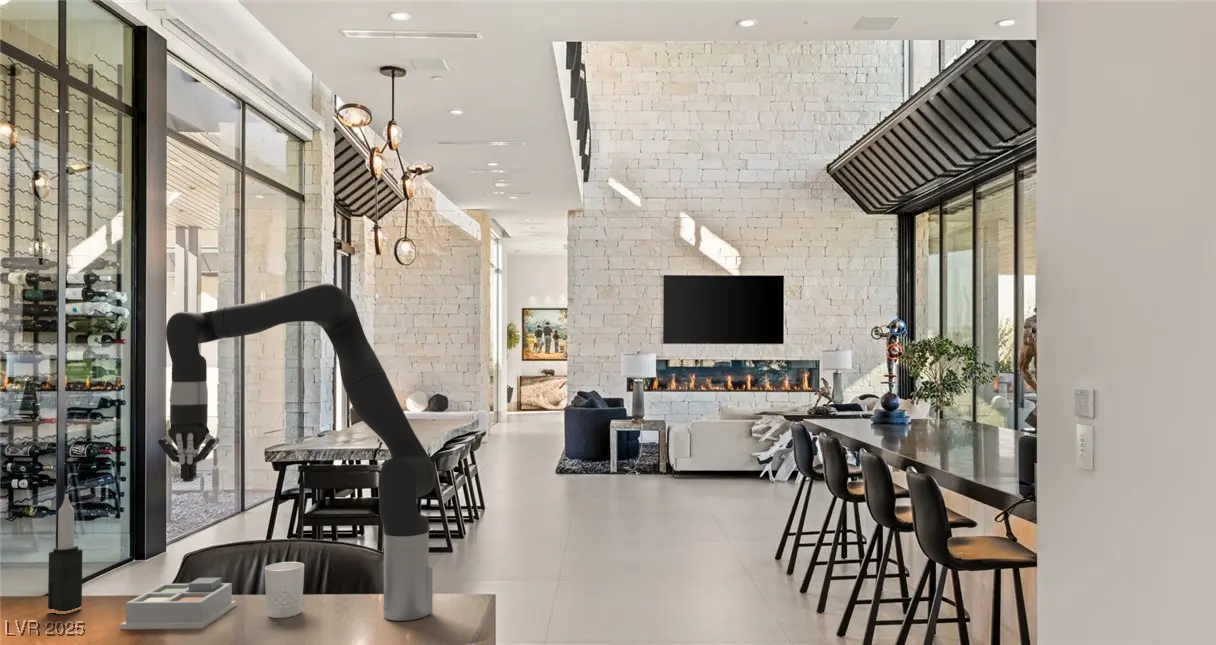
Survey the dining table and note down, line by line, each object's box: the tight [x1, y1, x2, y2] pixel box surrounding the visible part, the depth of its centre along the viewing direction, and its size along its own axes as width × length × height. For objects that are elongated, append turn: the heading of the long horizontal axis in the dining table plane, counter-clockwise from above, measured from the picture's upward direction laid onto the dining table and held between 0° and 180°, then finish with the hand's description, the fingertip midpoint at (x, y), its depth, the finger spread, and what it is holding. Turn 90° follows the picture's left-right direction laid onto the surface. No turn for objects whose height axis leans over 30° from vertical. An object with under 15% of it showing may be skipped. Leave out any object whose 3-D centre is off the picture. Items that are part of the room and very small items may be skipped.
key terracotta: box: [178, 597, 204, 601], centre depth 183 cm, size 5×5×3 cm
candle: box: [47, 493, 84, 611], centre depth 192 cm, size 5×5×25 cm
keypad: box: [119, 582, 237, 630], centre depth 186 cm, size 16×16×5 cm
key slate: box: [188, 577, 222, 592], centre depth 190 cm, size 5×5×3 cm
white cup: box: [264, 561, 305, 619], centre depth 188 cm, size 8×8×10 cm
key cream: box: [143, 597, 170, 602], centre depth 183 cm, size 5×5×3 cm
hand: (188, 481), depth 196 cm, fingers closed
